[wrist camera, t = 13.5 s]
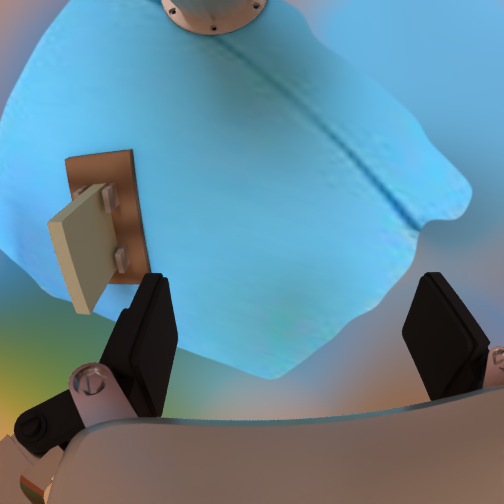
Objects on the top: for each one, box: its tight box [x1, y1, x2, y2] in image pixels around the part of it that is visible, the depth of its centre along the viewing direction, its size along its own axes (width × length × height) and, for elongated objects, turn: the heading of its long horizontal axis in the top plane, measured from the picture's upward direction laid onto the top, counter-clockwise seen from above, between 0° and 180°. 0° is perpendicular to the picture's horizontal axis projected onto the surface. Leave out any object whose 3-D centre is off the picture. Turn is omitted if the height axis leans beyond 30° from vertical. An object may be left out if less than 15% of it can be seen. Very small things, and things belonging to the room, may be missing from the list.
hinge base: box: [65, 149, 151, 284], centre depth 40 cm, size 20×10×4 cm, turn 0°
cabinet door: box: [47, 183, 118, 314], centre depth 36 cm, size 12×3×12 cm, turn 0°
